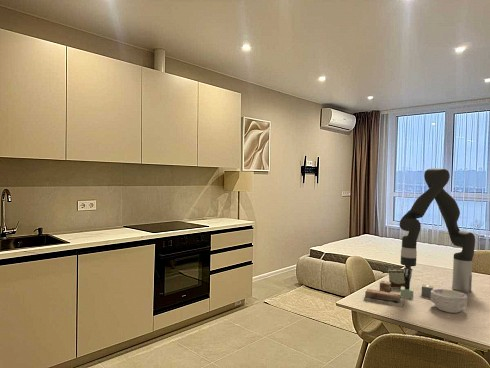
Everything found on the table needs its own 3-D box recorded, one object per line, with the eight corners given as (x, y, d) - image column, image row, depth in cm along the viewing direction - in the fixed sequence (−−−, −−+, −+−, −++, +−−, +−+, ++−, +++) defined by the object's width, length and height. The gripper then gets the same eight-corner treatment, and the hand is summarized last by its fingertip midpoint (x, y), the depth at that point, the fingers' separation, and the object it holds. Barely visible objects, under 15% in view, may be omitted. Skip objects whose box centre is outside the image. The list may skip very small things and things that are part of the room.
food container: (406, 285, 208) (406, 268, 208) (409, 288, 202) (410, 271, 201) (384, 284, 209) (385, 267, 209) (387, 287, 203) (388, 269, 203)
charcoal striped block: (432, 295, 191) (433, 285, 191) (432, 297, 187) (432, 287, 187) (422, 293, 194) (422, 284, 194) (421, 295, 189) (421, 286, 189)
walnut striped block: (390, 291, 195) (391, 282, 195) (389, 293, 191) (389, 284, 191) (381, 289, 198) (381, 280, 198) (379, 291, 194) (379, 282, 193)
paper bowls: (433, 301, 180) (434, 286, 180) (468, 309, 171) (469, 293, 171) (426, 309, 169) (427, 292, 168) (463, 318, 159) (464, 300, 159)
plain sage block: (413, 295, 189) (413, 288, 189) (412, 299, 184) (413, 291, 184) (400, 293, 192) (401, 286, 192) (400, 296, 187) (400, 289, 187)
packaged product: (364, 291, 178) (367, 286, 187) (363, 301, 178) (366, 295, 187) (403, 298, 170) (404, 292, 179) (402, 308, 170) (404, 302, 179)
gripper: (415, 259, 180) (413, 293, 180) (417, 254, 191) (416, 287, 192) (399, 257, 184) (397, 290, 184) (402, 253, 195) (401, 284, 195)
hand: (407, 288), depth 188 cm, fingers closed
